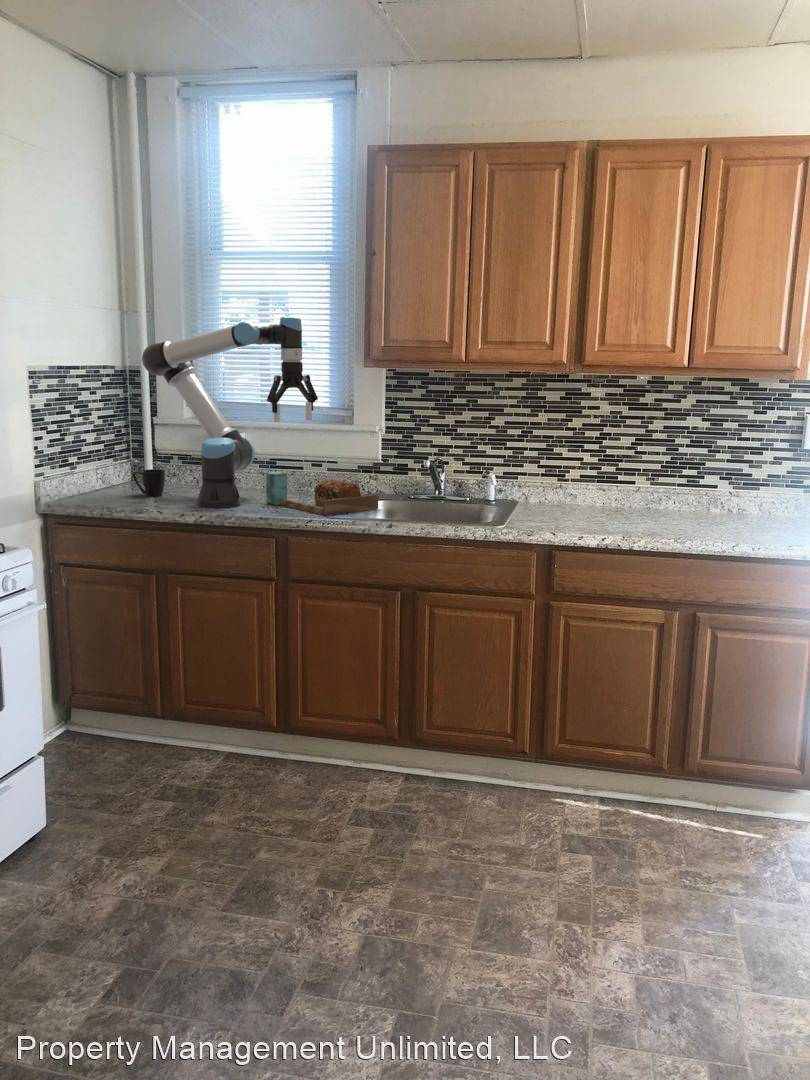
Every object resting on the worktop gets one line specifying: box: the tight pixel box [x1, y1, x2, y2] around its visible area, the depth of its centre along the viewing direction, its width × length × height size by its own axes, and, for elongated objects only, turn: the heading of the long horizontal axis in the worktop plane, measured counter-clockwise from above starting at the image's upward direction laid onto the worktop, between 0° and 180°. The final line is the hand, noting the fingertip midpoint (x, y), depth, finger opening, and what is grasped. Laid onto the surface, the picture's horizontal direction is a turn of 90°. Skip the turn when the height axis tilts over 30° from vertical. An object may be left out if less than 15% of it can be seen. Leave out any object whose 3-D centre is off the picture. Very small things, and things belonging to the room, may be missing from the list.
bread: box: [313, 479, 362, 508], centre depth 328 cm, size 19×11×10 cm, turn 29°
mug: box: [132, 468, 166, 498], centre depth 345 cm, size 8×12×10 cm
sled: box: [265, 471, 379, 516], centre depth 330 cm, size 33×26×11 cm
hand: (293, 421), depth 330 cm, fingers open, 13 cm apart
